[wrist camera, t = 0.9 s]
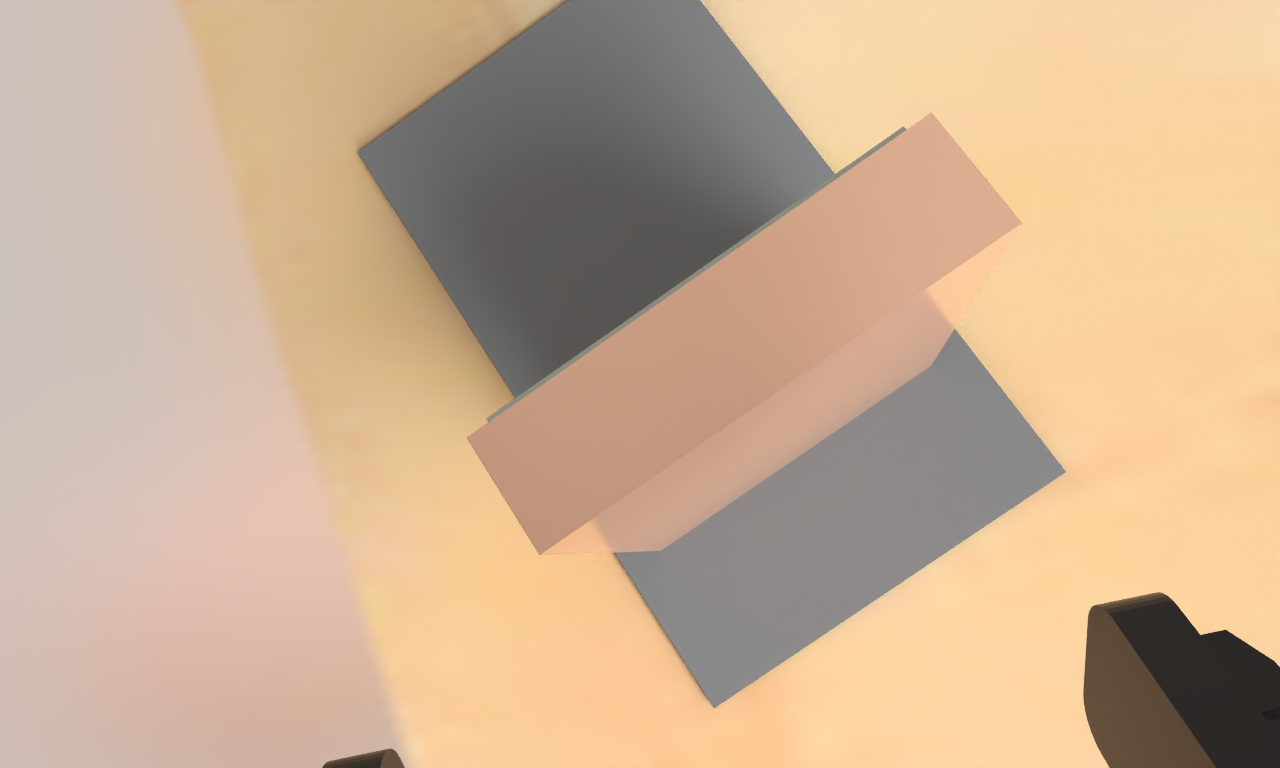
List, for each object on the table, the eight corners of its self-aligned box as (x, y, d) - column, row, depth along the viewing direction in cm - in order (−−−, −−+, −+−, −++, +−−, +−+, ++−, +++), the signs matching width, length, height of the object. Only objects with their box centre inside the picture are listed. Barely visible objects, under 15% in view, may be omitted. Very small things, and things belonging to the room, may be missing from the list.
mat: (654, -55, 35) (652, -61, 34) (1062, 473, 30) (1066, 471, 30) (362, 156, 36) (357, 152, 35) (714, 706, 31) (713, 708, 30)
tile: (877, 296, 31) (924, 103, 18) (930, 365, 31) (1021, 222, 17) (613, 478, 32) (461, 428, 18) (660, 551, 31) (540, 555, 18)
